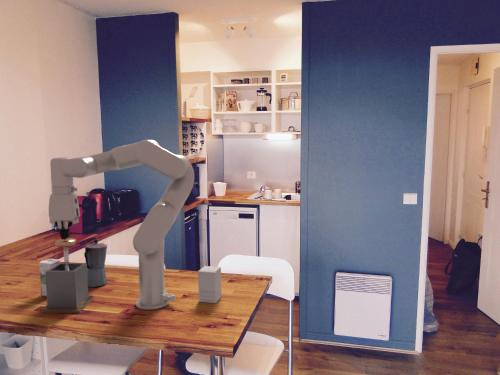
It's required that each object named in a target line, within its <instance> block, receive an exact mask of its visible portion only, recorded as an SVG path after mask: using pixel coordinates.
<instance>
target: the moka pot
mask: <svg viewBox="0 0 500 375" xmlns="http://www.w3.org/2000/svg"><path fill="white" fill-rule="evenodd" d="M107 247H108V245H107V244H106V243H104V242H99V240H98V239H94V243H91V244H90V243H89V244H86V245H85V246H84V253H83V254H84V255H83V256H84V258H85V259H84V260H85V263H87V277H88V288H89V287H90V288H97V287H103V286H105V285H107V283H108V280H107V275H106V267H105V266H106V260H107V259H106V257H107V249H108V248H107Z"/></svg>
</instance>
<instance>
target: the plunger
mask: <svg viewBox="0 0 500 375" xmlns="http://www.w3.org/2000/svg"><path fill="white" fill-rule="evenodd" d="M76 241H77V239H76V238H72V237H69V238H68V239H66V240H64V239H61V238H60V239H56V240H54V243H55V244H54V246H55V247H58V248H63V263H64V267H65V271H69V263H70V262H69V247H73V246H75V245H76V244H77V242H76Z"/></svg>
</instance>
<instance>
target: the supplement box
mask: <svg viewBox="0 0 500 375" xmlns="http://www.w3.org/2000/svg"><path fill="white" fill-rule="evenodd" d="M197 273H198V274H197V280H198V281H197V282H198V286H197V287H198V302H201V303H210V304H216V303H217V302H218V301H219V300H221V298H222V267H221V266H211V265H210V266H209V265H205V266H203V267H201V268H200V269H199V270H197Z"/></svg>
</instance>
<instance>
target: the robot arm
mask: <svg viewBox="0 0 500 375" xmlns="http://www.w3.org/2000/svg"><path fill="white" fill-rule="evenodd" d="M49 163H50V183H51V185H50V186H51V194H50V195H49V200H48V218H49V219H48V220H49V224H51V225H52V224H53V225H55V226H56V227H57V228H58V229H59V236H60V239H64V240H66V239H68V238H70V237H71V236H70V235H71V234H70V228H71V227H72V226H73V225H75V224H78V223H80V220H79V218H80V215H81V213H80V205H79V200H78V195H77V193H75V192H77V191H78V187H75V185H74V178H78V179H83V178H87V177H89V176H91V177H92V176H94V175H99V174H102V173H106V172H110V171H120V170H125V169H129V168H133V167H138V166H142V165H144V166H146V167H148V168H150V169H151V170H153V171H155V172H157V173H158V174H160V175H162V176H164V177H166V178H168V179H171V180H170V183H169V184H168V186H167V187H166V190H165V191H164V192H163V195H162V196H161V198H160V199H159V200H158V201H157V203H155V204H154V205H153V206H152V207H151V208H150V210H149V211H148V213H147V215H146V216H145V218H144V219H143V220H142V221H141V222H142V223H141V224H140V226H139V227H138V229H137V231H136V232H135V234H134V236H133V237H132V245H133V248H134V250H135V251H136V253H138V282H139V283H138V284H139V285H138V286H139V288H138V290H139V298H137V300H136V301H135V306H136V308H138V309H140V310H145V311H146V310H147V311H151V310H158V309H163V308H164V307H166V306H168V305H169V303H170V301H176V300H177V297H176V296H177V295H175V294H174V293H168V292H167V291H168V290H167V289H166V288H165V237H166V235H167V234H168V233H169V231H170V229H171V227H172V226H173V224H174V223H175V221H176V219H177V217H178V215H179V213H180V212H181V210H182V207H183V206H184V204H185V203H186V201H187V200H188V197H190V194H191V192H192V189H193V187H194V184H195V171H194V167H193V165H192V163H191V162H190V160H189V159H188V158H187V157H186V156H184V155H181V154H174V153H173V152H171V151H169V150H167V149H165V148H163V147H162V146H161V145H160V143H159V142H157V140H154V139H143V140H140V141H138V142H137V141H136V142H133V143H129V144H125V145H124V144H123V145H120V146H115V147H113V148H111V149H110V150H107V151H104V152H100V153H96V154H92V155H88V156H79V157H73V158H69V157H53V158H51V159H50V162H49Z"/></svg>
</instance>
